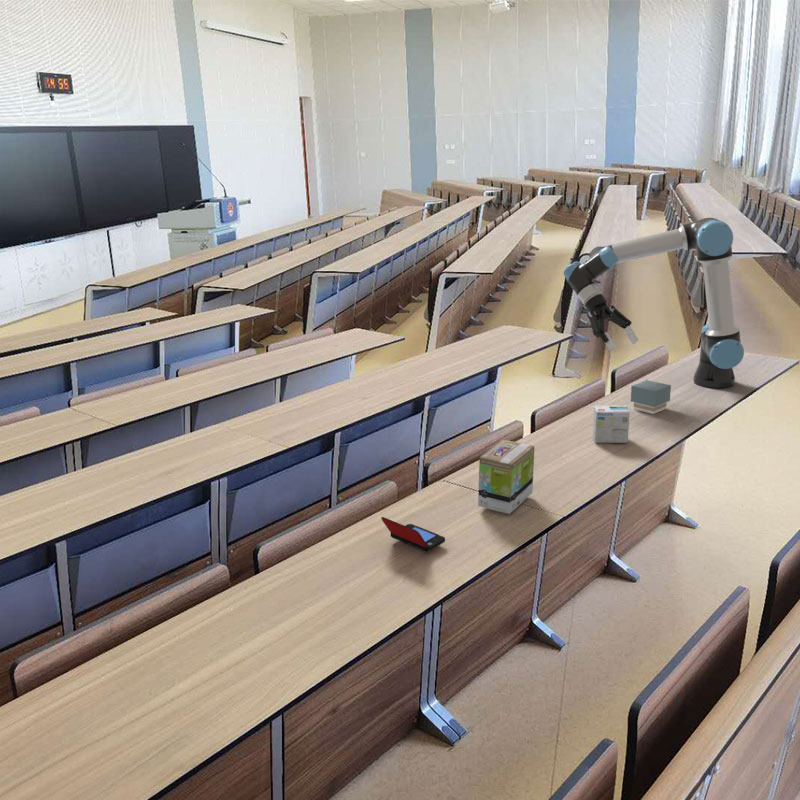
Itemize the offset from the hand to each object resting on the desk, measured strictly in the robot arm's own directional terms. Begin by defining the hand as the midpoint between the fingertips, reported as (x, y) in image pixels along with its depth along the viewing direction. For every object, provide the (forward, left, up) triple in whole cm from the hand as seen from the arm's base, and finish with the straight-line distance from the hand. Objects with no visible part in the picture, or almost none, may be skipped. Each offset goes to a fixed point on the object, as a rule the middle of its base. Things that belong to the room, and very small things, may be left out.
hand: (625, 345), depth 281 cm
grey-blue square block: (-6, +9, -19) cm, 22 cm away
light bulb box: (+20, +33, -22) cm, 45 cm away
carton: (-6, +9, -22) cm, 24 cm away
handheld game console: (+95, +86, -22) cm, 130 cm away
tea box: (+66, +68, -22) cm, 98 cm away
